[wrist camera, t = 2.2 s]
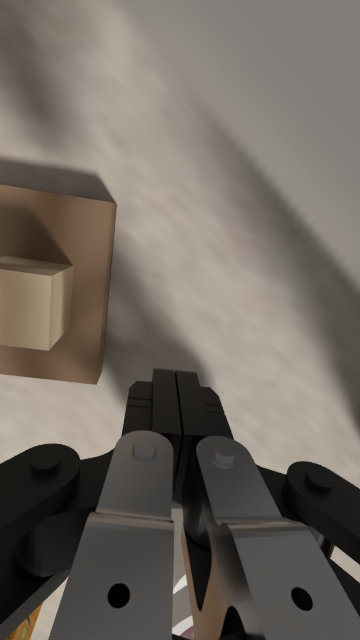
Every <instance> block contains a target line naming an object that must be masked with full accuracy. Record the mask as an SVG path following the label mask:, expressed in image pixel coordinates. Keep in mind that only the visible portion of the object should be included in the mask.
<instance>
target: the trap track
mask: <svg viewBox="0 0 360 640" xmlns="http://www.w3.org/2000/svg"><path fill="white" fill-rule="evenodd" d="M116 208H117V204H115V203H112V202H106V201H100V200H94V199H87V198H81V197H75V196H69V195H63V194H57V193H51V192H45V191H38V190H32V189H26V188H20V187H14V186H8V185H2V184H0V257H3V256H10V257H17V258H24V259H31V260H38V261H45V262H52V263H59V264H66V265H73V282H72V301H71V319H70V327H69V328H68V330H67V331H66V332H65V333H64V334H63V335H62V336H61V337H60V338H59V340H58V341H57V342H56V343H55V344H54V345H53V346H52V347H51V349H50V350H49V351H48V350H39V349H31V348H22V347H14V346H6V345H0V374H5V375H14V376H23V377H32V378H41V379H50V380H59V381H68V382H77V383H86V384H95V385H97V382H98V380H99V377H100V375H101V373H102V365H103V354H104V343H105V331H106V320H107V309H108V298H109V287H110V275H111V264H112V253H113V242H114V231H115V219H116Z"/></svg>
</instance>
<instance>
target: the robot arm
mask: <svg viewBox="0 0 360 640" xmlns="http://www.w3.org/2000/svg"><path fill="white" fill-rule="evenodd" d="M171 508H174V509H182V510H183V523H182V528H181V535H180V538H181V546H182V552H183V559H184V566H185V572H186V579H187V585H188V592H189V599H190V605H191V612H192V619H193V630H194V640H360V583H359V582H358V581H357V580H355V579H354V578H353V577H352V576H350V575H349V574H348V573H347V572H346V571H344V570H343V569H342V568H341V567H340V566H338V565H337V564H336V563H335V562H334V561H332V560H331V559H330V557H331V555H332V552H333V549H334V547H335V546H337V547H338V548H339V549H340V550H342V551H343V552H344V553H346V554H347V555H348V556H349V557H351V558H352V559H353V560H354V561H356V562H357V563H358V564H359V565H360V489H359V488H358V487H356V486H354V485H353V484H351V483H350V482H348V481H347V480H345V479H343V478H342V477H340V476H339V475H337V474H335V473H334V472H332V471H331V470H329V469H327V468H325V467H323V466H321V465H318V464H316V463H312V462H306V461H300V462H295V463H293V464H291V465H290V466H289V468H288V471H287V474H286V475H285V474H282V473H279V472H276V471H272V470H269V469H266V468H263V467H260V466H258V465H256V464H255V462H254V460H253V458H252V456H251V454H250V453H249V451H248V450H247V449H246V448H245V447H244V446H243V445H242V444H240V443H239V442H237V441H235V440H234V438H233V435H232V432H231V429H230V427H229V424H228V421H227V418H226V415H224V410H223V407H222V404H221V401H220V398H219V396H218V395H217V394H216V393H215V392H214V391H213V390H212V389H211V388H210V387H200V385H199V381H198V377H197V373H196V372H188V371H177V370H175V373H174V370H166V369H156V368H154V369H153V375H152V382H144V381H136V382H135V383H134V384H133V385H132V386H131V387H130V388H129V394H128V400H127V406H126V412H125V418H124V424H123V430H122V436H121V438H120V439H119V440H118V442H117V443H116V446H115V448H114V449H113V450H111V451H110V452H108V453H106V454H104V455H101V456H98V457H94V458H88V459H83V460H80V457H79V455H78V454H77V452H76V451H75V450H74V449H72V448H70V447H68V446H66V445H62V444H43V445H38V446H35V447H32V448H30V449H28V450H26V451H24V452H22V453H20V454H18V455H16V456H14V457H13V458H11V459H9V460H7V461H5V462H3V463H1V464H0V640H5V639H6V638H7V637H8V636H9V635H10V634H11V633H12V632H13V631H14V630H15V629H16V628H17V627H18V626H19V625H20V624H21V623H22V622H23V621H24V620H25V619H26V618H27V617H28V616H29V615H30V614H31V613H32V612H33V611H34V610H35V609H36V608H37V607H39V606H40V605H41V604H42V603H43V602H44V601H45V600H46V599H47V598H48V597H49V596H50V595H51V594H52V593H53V592H54V591H55V590H56V589H57V588H58V587H59V586H60V585H61V584H62V583H63V582H64V581H65V580H66V578H67V577H68V575H69V577H68V580H67V583H66V586H65V589H64V592H63V596H62V599H61V602H60V605H59V608H58V611H57V614H56V617H55V620H54V623H53V627H52V630H51V633H50V636H49V639H48V640H190V639H187V638H184V637H181V636H178V635H175V634H172V614H173V571H174V521H173V520H171Z"/></svg>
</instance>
